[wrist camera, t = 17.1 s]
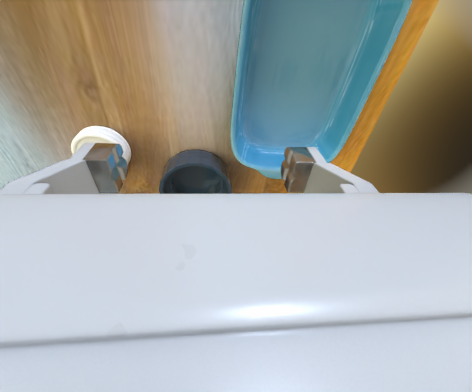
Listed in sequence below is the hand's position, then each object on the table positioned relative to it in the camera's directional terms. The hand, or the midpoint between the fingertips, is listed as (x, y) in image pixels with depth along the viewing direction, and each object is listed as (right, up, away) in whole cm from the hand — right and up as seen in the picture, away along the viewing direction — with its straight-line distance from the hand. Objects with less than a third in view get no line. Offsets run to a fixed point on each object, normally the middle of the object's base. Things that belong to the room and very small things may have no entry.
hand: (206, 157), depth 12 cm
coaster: (-25, +8, +35) cm, 44 cm away
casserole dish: (+12, +20, +29) cm, 37 cm away
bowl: (-8, +2, +42) cm, 42 cm away
